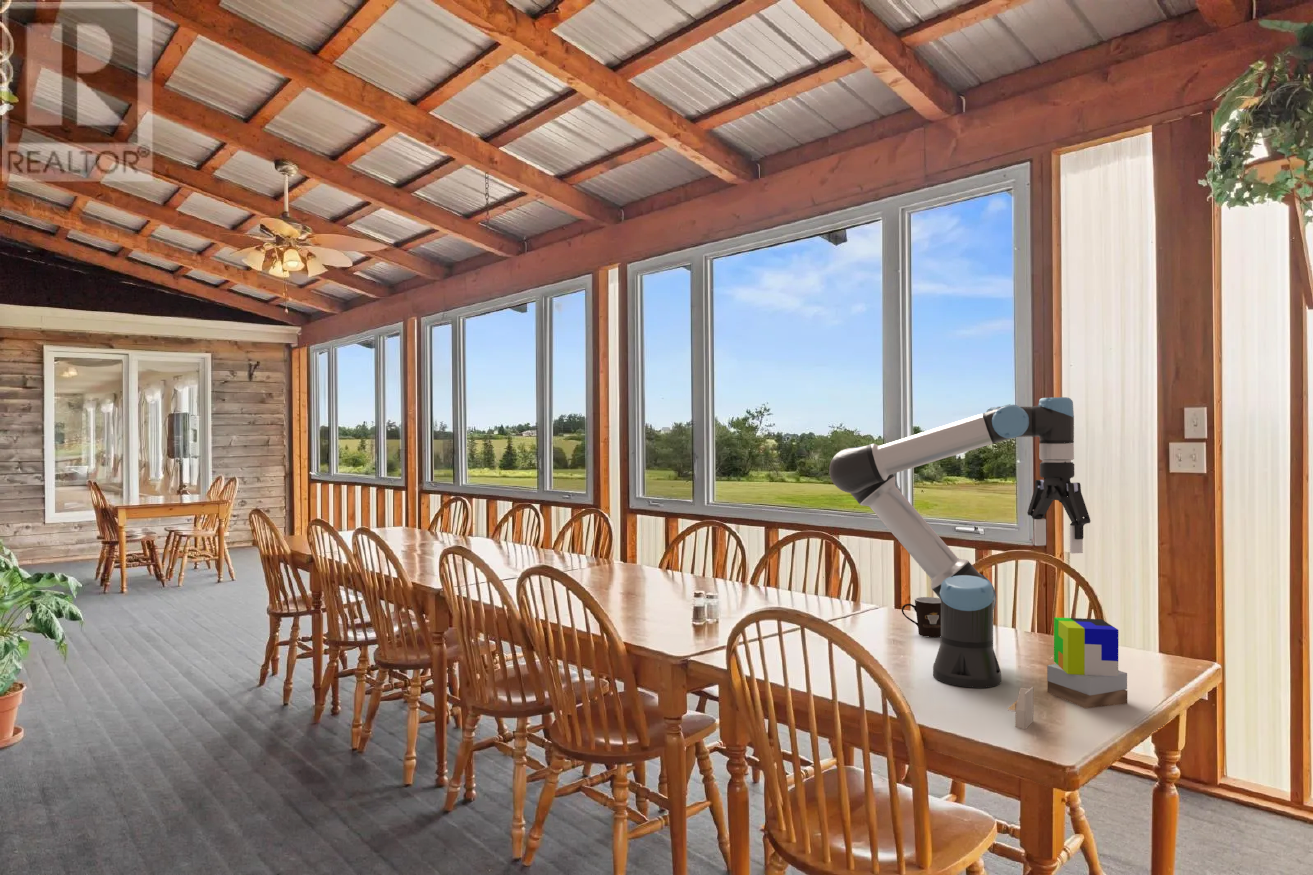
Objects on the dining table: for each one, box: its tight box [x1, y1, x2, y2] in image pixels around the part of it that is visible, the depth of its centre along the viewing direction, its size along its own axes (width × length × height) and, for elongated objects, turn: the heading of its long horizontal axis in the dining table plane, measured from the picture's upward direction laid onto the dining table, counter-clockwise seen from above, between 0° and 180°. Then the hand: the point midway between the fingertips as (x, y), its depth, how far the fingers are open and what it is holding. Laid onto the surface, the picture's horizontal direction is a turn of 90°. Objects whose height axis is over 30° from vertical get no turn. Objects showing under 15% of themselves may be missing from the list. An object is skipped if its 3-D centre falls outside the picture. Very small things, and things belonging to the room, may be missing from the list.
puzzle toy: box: [1053, 617, 1119, 677], centre depth 179 cm, size 10×10×10 cm
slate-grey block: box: [1046, 663, 1128, 695], centre depth 179 cm, size 11×11×4 cm
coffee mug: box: [901, 596, 941, 638], centre depth 235 cm, size 12×9×10 cm
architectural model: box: [1007, 686, 1034, 730], centre depth 164 cm, size 3×7×8 cm, turn 141°
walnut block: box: [1046, 681, 1128, 709], centre depth 179 cm, size 11×11×4 cm
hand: (1057, 549), depth 196 cm, fingers open, 13 cm apart
